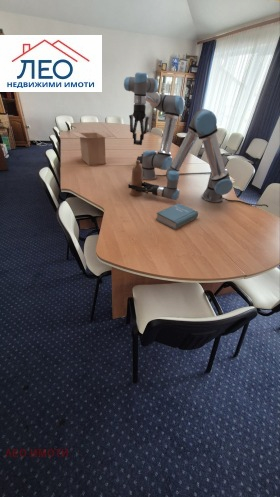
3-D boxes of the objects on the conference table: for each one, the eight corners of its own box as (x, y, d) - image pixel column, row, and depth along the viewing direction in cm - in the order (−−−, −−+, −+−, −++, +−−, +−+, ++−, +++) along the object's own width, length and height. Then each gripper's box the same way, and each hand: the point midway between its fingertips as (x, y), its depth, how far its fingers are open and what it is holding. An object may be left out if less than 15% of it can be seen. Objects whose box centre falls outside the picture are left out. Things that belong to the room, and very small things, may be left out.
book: (177, 209, 154) (178, 203, 151) (197, 218, 145) (198, 211, 142) (156, 219, 141) (156, 212, 138) (175, 230, 132) (177, 222, 129)
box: (116, 165, 229) (116, 136, 213) (83, 168, 214) (80, 137, 198) (102, 154, 259) (101, 128, 243) (71, 156, 244) (68, 129, 228)
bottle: (129, 194, 172) (130, 160, 157) (134, 191, 177) (136, 158, 162) (137, 196, 168) (139, 162, 153) (143, 193, 174) (145, 160, 159)
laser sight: (156, 165, 238) (157, 155, 232) (135, 163, 241) (136, 153, 235) (157, 163, 245) (158, 153, 240) (137, 160, 248) (138, 151, 242)
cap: (139, 145, 150) (139, 141, 149) (134, 144, 151) (134, 140, 150) (141, 144, 153) (141, 140, 152) (136, 143, 154) (136, 139, 153)
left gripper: (125, 103, 138) (124, 143, 151) (150, 105, 133) (147, 147, 147) (129, 102, 143) (128, 141, 157) (154, 105, 139) (151, 145, 153)
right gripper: (152, 200, 158) (124, 193, 165) (162, 191, 173) (136, 184, 180) (153, 190, 153) (124, 183, 160) (164, 181, 169) (137, 175, 176)
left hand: (137, 144), depth 152 cm, fingers closed on cap, 4 cm apart
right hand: (131, 184), depth 170 cm, fingers closed on bottle, 8 cm apart
